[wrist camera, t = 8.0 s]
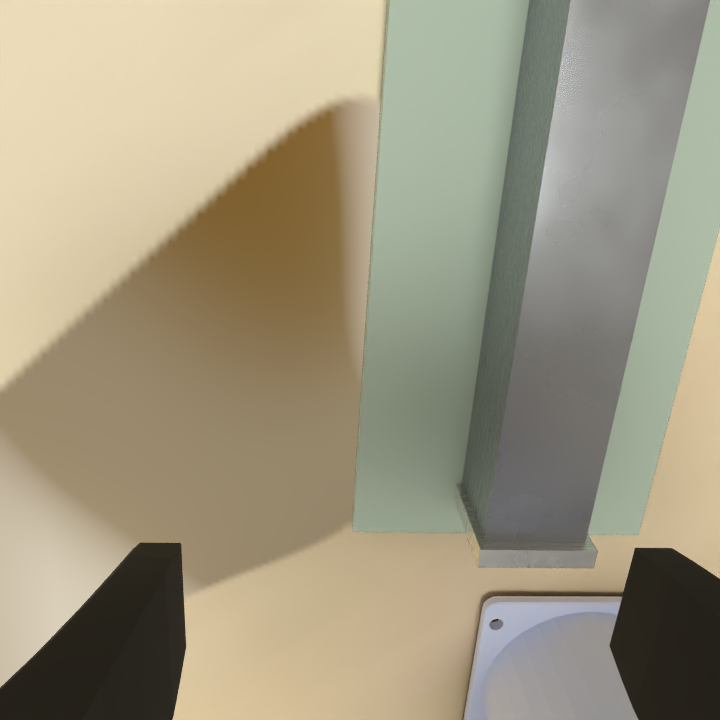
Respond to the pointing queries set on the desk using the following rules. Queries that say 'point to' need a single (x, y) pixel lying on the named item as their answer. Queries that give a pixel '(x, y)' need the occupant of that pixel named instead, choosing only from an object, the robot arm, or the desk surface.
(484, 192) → the mat
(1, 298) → the desk surface
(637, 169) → the rail
